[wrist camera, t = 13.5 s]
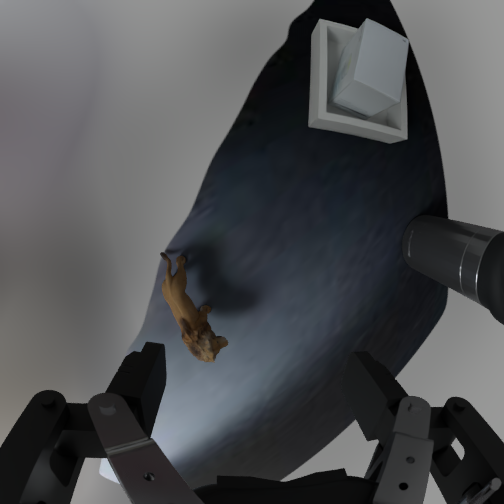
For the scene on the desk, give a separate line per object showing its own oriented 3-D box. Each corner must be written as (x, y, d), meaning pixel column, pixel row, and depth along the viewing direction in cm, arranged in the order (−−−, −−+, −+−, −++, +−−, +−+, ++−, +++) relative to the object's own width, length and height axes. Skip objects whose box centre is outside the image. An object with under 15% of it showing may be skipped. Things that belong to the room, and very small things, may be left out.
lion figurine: (233, 325, 41) (232, 358, 32) (204, 340, 41) (197, 375, 33) (176, 242, 38) (158, 257, 29) (147, 261, 38) (124, 281, 30)
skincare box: (339, 49, 32) (366, 15, 22) (377, 66, 33) (411, 40, 22) (324, 104, 34) (353, 78, 24) (365, 121, 35) (403, 104, 24)
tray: (387, 55, 33) (401, 44, 28) (389, 143, 36) (407, 139, 31) (311, 34, 32) (319, 18, 27) (308, 126, 35) (318, 118, 31)
